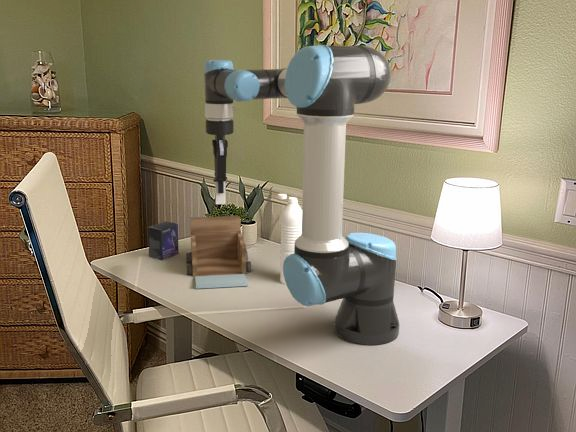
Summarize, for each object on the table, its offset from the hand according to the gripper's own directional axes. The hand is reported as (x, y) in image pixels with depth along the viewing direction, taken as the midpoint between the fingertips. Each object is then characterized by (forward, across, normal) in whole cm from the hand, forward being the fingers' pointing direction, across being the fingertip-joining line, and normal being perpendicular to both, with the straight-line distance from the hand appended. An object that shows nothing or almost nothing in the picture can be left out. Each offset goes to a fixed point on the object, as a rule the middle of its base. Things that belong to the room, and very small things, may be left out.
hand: (220, 203), depth 173 cm
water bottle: (+22, -9, -18) cm, 30 cm away
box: (+22, +18, +16) cm, 33 cm away
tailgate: (+21, -4, +1) cm, 21 cm away
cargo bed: (+22, +7, +1) cm, 23 cm away
